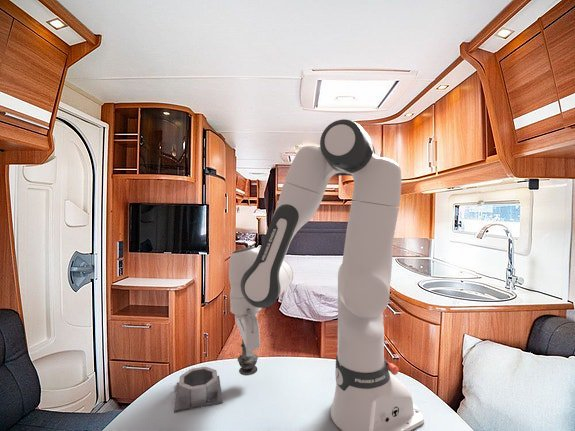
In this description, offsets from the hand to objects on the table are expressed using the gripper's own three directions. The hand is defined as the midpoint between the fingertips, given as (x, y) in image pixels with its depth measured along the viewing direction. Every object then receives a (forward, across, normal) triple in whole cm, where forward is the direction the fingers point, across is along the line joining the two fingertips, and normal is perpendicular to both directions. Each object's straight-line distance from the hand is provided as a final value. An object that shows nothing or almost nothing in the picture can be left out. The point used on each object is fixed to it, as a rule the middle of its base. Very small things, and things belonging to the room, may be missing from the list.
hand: (247, 351), depth 84 cm
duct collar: (+10, +1, +14) cm, 17 cm away
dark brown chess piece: (+6, 0, 0) cm, 6 cm away
